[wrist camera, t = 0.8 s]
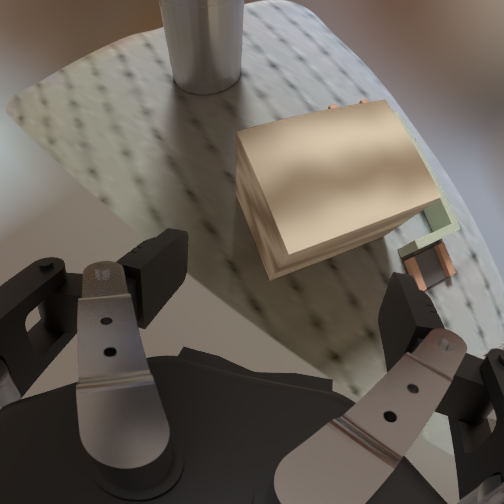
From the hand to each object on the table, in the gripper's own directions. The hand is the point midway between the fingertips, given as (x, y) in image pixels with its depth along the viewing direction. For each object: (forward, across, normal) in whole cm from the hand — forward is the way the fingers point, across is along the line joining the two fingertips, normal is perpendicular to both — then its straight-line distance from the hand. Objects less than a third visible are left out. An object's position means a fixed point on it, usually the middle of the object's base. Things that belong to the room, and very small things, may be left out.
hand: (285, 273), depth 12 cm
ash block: (+23, -1, +4) cm, 24 cm away
